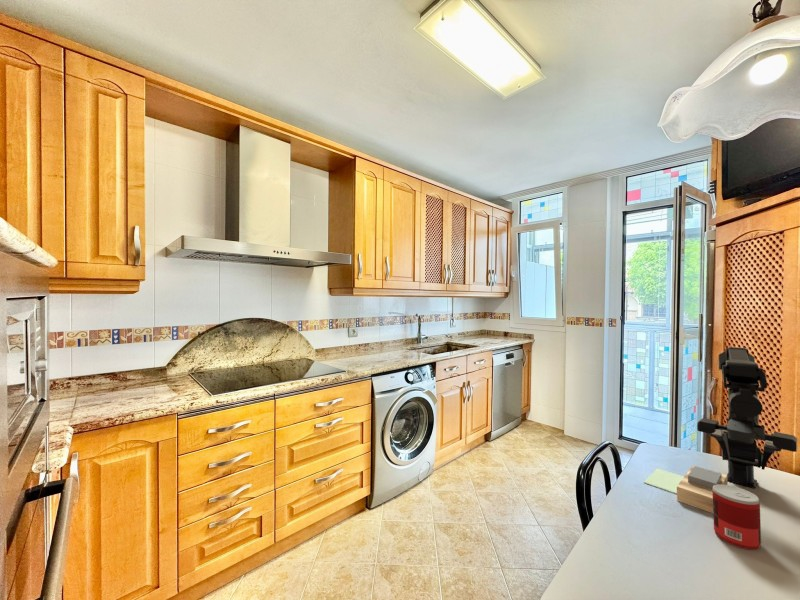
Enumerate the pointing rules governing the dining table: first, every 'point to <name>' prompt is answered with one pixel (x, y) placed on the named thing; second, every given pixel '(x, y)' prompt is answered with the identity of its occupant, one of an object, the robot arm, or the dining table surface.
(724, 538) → the canned food
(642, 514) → the dining table surface
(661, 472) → the mat
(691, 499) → the deck
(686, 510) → the dining table surface
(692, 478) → the pale grey box
